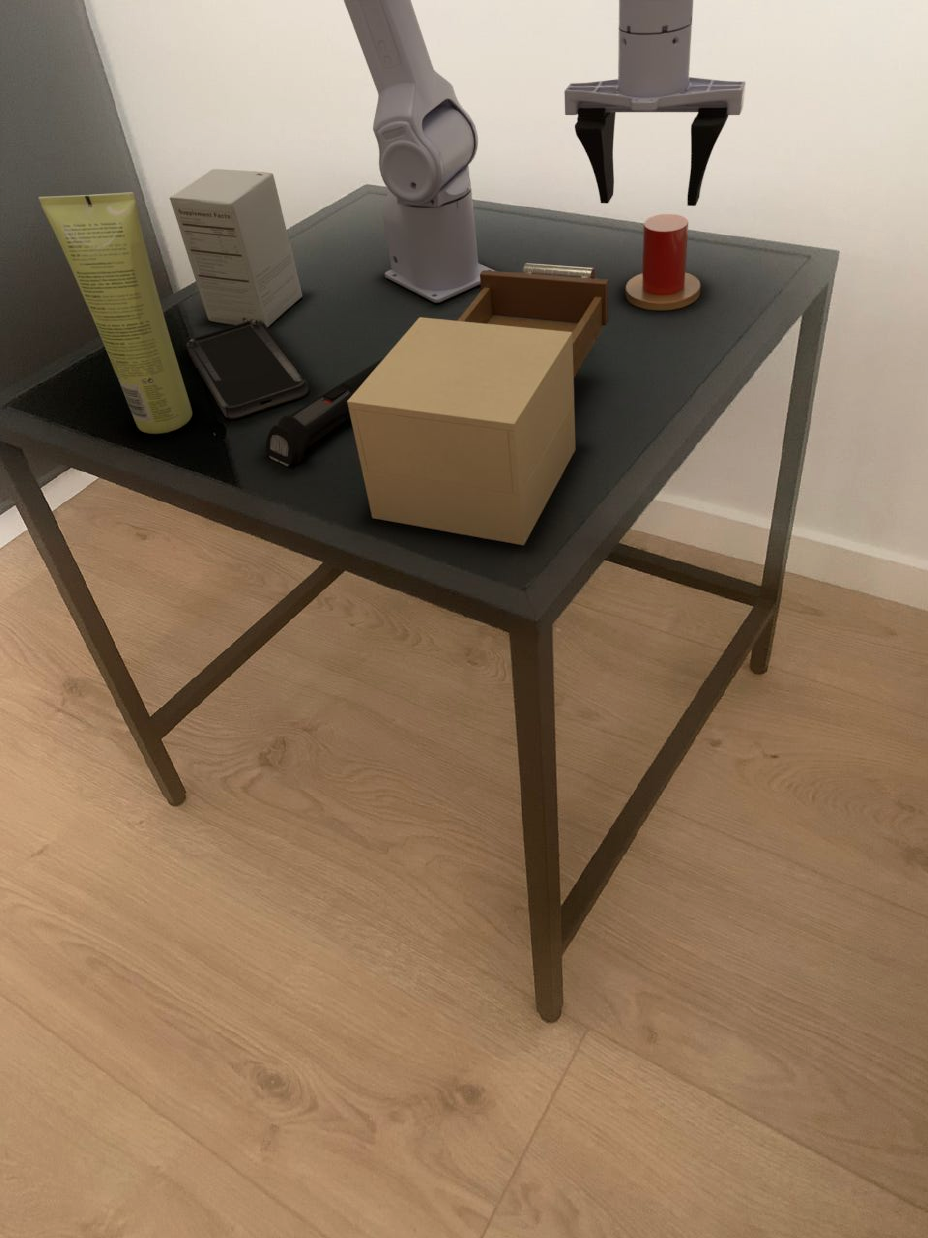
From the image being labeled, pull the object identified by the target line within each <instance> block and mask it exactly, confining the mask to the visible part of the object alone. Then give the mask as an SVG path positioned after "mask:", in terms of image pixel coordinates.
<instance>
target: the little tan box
mask: <svg viewBox="0 0 928 1238" xmlns="http://www.w3.org/2000/svg"><path fill="white" fill-rule="evenodd" d="M385 356H386V357H385ZM385 356H384V357H385V358H384V357H383V358H384V359H383V360H382V361H381V363H380V364H379V365H378V366H377V367H376V368H375V370H374V371H373V372H372V373H371V374H370V375H369V377H368V378H367V379H366V380H365V381H364V382H363V384H362V385H361V386H360V387H359V388H358V389H357V390H356V392H355V393H354V394H353V395H352V396H351V397H350V399H349V400H348V401H347V403H348V408H349V413H350V421H351V426H352V431H353V435H354V441H355V444H356V449H357V453H358V460H359V463H360V467H361V472H362V473H361V474H362V477H363V481H364V487H365V491H366V495H367V501H368V505H369V510H370V515H371V518H372V519H375V520H380V521H385V522H391V523H397V524H398V523H399V524H403V525H408V526H414V527H420V528H425V529H430V530H436V531H441V532H447V533H453V534H459V535H464V536H468V537H476V538H481V539H487V540H492V541H496V542H503V543H509V544H513V545H519V546H525V544H526V543H527V540H528V538H529V537H530V535H531V533H532V531H533V529H534V528H535V526H536V524H537V522H538V520H539V518H540V516H541V514H542V513H543V511H544V509H545V507H546V505H547V503H548V502H549V499H550V498H551V496H552V494H553V493H554V490H555V489H556V487H557V485H558V483H559V481H560V479H561V478H562V476H563V474H564V472H565V471H566V468H567V466H568V465H569V462H570V461H571V459H572V457H573V455H574V454H575V452H576V450H577V449H576V414H575V382H574V381H575V379H574V378H575V377H574V375H573V340H572V332H565V331H555V330H545V329H535V328H524V327H514V326H504V325H494V324H484V323H473V322H463V321H457V320H453V319H452V320H451V319H443V318H442V319H441V318H431V317H421V316H420V317H418V318H417V320H416V321H415V322H414V323H412V326H411V327H409V329H408V330H407V331H406V332H405V333H404V335H403V336H402V337H401V338H400V339H399V340H398V342H397V343H396V344H395V345H394V346H393V347H392V348H391V350H390V351H389V352H388V353H387V354H386V355H385Z"/></svg>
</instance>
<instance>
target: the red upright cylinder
mask: <svg viewBox="0 0 928 1238" xmlns="http://www.w3.org/2000/svg"><path fill="white" fill-rule="evenodd" d="M642 231H643V233H642V235H643V236H642V265H641V266H642V271H641V274H642V288H643V290H644V291H646V292H648V293H650V294H654V295H669V294H674V293H677V292H679V291H681V290H682V289H683V288H684V286H685V272H686V273H687V271H686V270H687V256H688V255H687V253H688V239H689V238H688V237H689V220H688V218H687V217H685V216H683V215H680V214H675V213H662V214H656V215H653V216H650V217H648V218H647V219H646V220H644V222H643V230H642Z"/></svg>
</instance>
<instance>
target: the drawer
mask: <svg viewBox="0 0 928 1238" xmlns="http://www.w3.org/2000/svg"><path fill="white" fill-rule="evenodd" d="M480 282H481V284H480V292H479V293H478V294H477V295H476V296H475V298H474V299H473V301H472V302H471V303H470V304H469V305H468V307H467V308H466V309H465V310H464V312H463V313H462V314H461V315H460V317H458V319H457V320H456V321H463V322H473V323H484V324H494V325H504V326H514V327H524V328H535V329H545V330H555V331H565V332H572V340H573V375H574V378H575V377H576V375H577V374H578V372H579V370H580V369H581V367H582V365H583V363H584V362H585V360H586V358H587V357H588V355H589V353H590V351H591V350H592V349H593V346H594V345H595V343H596V341H597V340H598V338H599V336H600V335H601V333H602V331H603V326H604V327H606V326H607V324H608V323H609V279H602V278H596V269H595V268H594V267H584V266H569V265H557V264H554V265H553V264H543V263H530V262H529V263H528V262H526V263H524V266H523V268H522V272H514V271H513V272H511V271H499V270H495V271H487V270H483V271H482V272H481V273H480Z"/></svg>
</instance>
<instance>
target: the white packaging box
mask: <svg viewBox="0 0 928 1238" xmlns="http://www.w3.org/2000/svg"><path fill="white" fill-rule="evenodd" d="M169 200H170V204H171V207H172V210H173V213H174V216H175V220H176V222H177V225H178V229H179V232H180V236H181V239H182V241H183V245H184V248H185V251H186V254H187V259H188V261H189V264H190V267H191V270H192V273H193V277H194V279H195V283H196V286H197V289H198V293H199V295H200V298H201V302H202V305H203V308H204V311H205V315H206V317H207V320H208V321H210V322H212V323H220V324H225V325H232V326H235V325H238V324H242V323H245V322H248V321H252V320H260V321H262V322H263V323H264V324H265V325H266V326H267V328H268V329H269V327H270V326H271V325H273V323H274V322H275V321H276V320H277V319H279V318H281V316H282V315H283V314H285V313H286V311H287V310H289V309H290V308H291V307H292V306H293V305H294V304H296V302H298V301H299V300H300V299H301V298H302V297H303V292H302V289H301V284H300V281H299V276H298V272H297V268H296V263H295V259H294V255H293V250H292V247H291V243H290V237H289V234H288V229H287V225H286V222H285V217H284V213H283V208H282V205H281V199H280V197H279V192H278V189H277V183H276V180H275V175H274V173H272V172H265V171H257V170H235V169H221V168H213V169H210V170H208V171H207V172H206V173H204V174H203V175H202V176H200V177H199V178H198V179H196V180H194V181H192V182H191V183H190V184H188V185H187V186H185V187H183V188H182V189H180V190H179V191H177V192H176V193H174V194H173V195H171V196H170V197H169Z"/></svg>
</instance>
